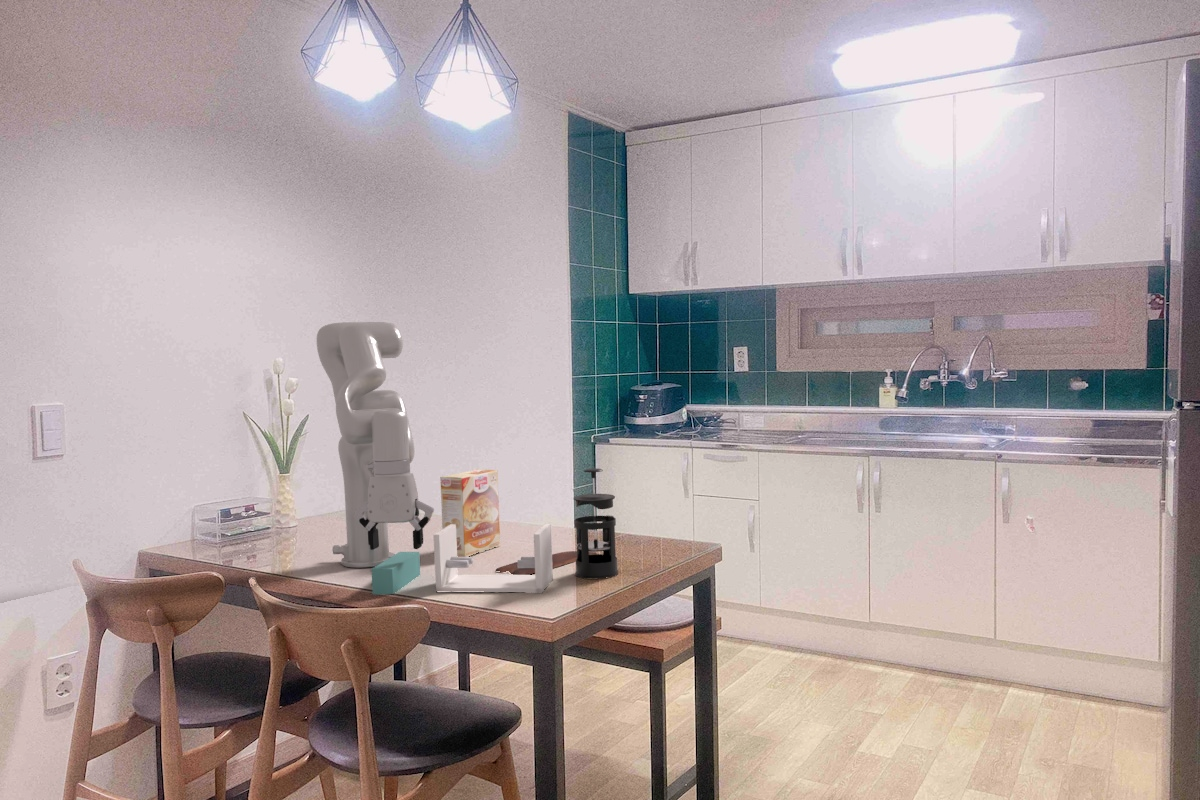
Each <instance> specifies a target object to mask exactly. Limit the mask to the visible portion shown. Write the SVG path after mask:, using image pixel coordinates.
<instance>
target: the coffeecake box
mask: <svg viewBox="0 0 1200 800" xmlns="http://www.w3.org/2000/svg"><path fill="white" fill-rule="evenodd" d="M498 472H499V471H498V470H496V469H478V468H477V469H472V470H469V471H463V472H459V473H454V474H453V473H452V474H449V475H445V476H440V478H439V480H440V501H441V502H440V503H441V527H442V529H444V528H445V527H447V526H449V525H450V524H456V539H457V556H458V557H467V556H470V555H473V554H476V553H478V552H482V551H484V550H487V551H489V550H488V549H490V550H492V549H491V548H493V549H495V548H494V547H496V546H499V545H500V546H501V536H500V535H501V533H500V504H499V502H500V501H499V482H498V481H499V478H498V477H499V475H498ZM442 529H441V530H442ZM500 546H499V547H500ZM496 548H497V547H496ZM484 552H485V551H484ZM482 553H483V552H482ZM476 555H477V554H476ZM473 556H474V555H473ZM470 557H471V556H470Z"/></svg>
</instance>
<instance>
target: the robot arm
mask: <svg viewBox="0 0 1200 800" xmlns="http://www.w3.org/2000/svg"><path fill="white" fill-rule="evenodd" d="M403 345H404V343H403V336H402V334H401V331H400V330H399V328H398V327H397V326H396V325H395V324H394V323H391V322H384V321H369V322H368V321H363V322H362V321H359V322H355V321H354V322H351V321H349V322H345V321H344V322H333V323H328V324H326V325H324V326H321V327H320V328H319V329H318V331H317V334H316V348H317V354H318V359H319V360H320V363H321V366H322V368H323V369H324V372H325V373H326V374H327V377H328V379H329V381H330V382H331V387H332V392H333V396H334V401H335V415H336V419H337V425H338V428H339V431H340V434H341V437H340V439H339V441H338V447H337V448H338V455H339V461H340V466H341V471H342V477H343V489H344V506H345V523H346V524H345V525H346V527H345V528H346V529H345V530H346V543H345V544H343V545H342V544H333V546H332V549H331V550H332V554H333V555H342V556H343V557H342V558H341V565H342V566H344V567H347V568H356V569H357V568H374V567H376V566H377V565H379V564H381V563H382V562H384V561H385V560H387V559H389V558H390V557H392V556H394V555H395V554H396V553H394V552H390V550H389V549H390V547H389V528H388V527H389V525H388V524H393V523H395V524H399V523H400V524H401V523H409V524H411V526H412V527H413V528H414V530H413V531H412V544H413V545H412V546H413V549H414V550H419V549H420V548H421V547H422V545H423V544H424V528H425V526H427V524H428V523H429V522H431V517H432V516H433V514H434V511H435V509H434V507H432V506H431V505H428V504H426V503H424V502H423V501H421V500H419V495H418V488H417V484H416V479H415V476H414V473H411V463H412V462H413V461H414V457H415V443H414V440H413V439H414V437H413V435H412V430H411V425H410V421H409V417H408V414H407V409H406V404H405V401H404V399H403V397H402V396H401V394H400V393H399V392H397V391H395V390H391V389H386V390H385V389H383V390H382V389H381V390H378V389H379V388H380V387H381V386H382V385H383V384H384V382H385V381H386V378H387V371H386V368H385V365H384V361H383V359H396V358H397V357H400V355H401V353H402V350H403ZM420 510H421V511H423V512H424V516H423V517H422V519H421V518H420V517H419V515H420Z"/></svg>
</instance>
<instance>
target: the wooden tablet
mask: <svg viewBox="0 0 1200 800" xmlns="http://www.w3.org/2000/svg"><path fill="white" fill-rule="evenodd" d="M593 554H597V552H596V551H595V552H589V555H593ZM576 559H577V550H574V551H573V550H570V551H563V552H557V553H552V566H553V569H555V567H556V568H559V566H560V567H562V566H561V565H563V566H566V565H569V564H572V563H575V562H574V561H576ZM571 562H572V563H571ZM568 563H569V564H568ZM565 564H566V565H565ZM495 571H500V572H506V571H509V572H510V573H511V574H513V575H530V574H532V575H534V574H533V573H535V568H518V567H517V562H512V563H509V564H506V565H503V566H500V567H498V568H497V567H496V569H495Z"/></svg>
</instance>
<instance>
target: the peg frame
mask: <svg viewBox="0 0 1200 800" xmlns="http://www.w3.org/2000/svg"><path fill="white" fill-rule="evenodd" d="M552 544H553V542H552V524H551V523H545V524H544V525H542V527H540V528H539V529H538V530H536V532H535V533H533V546H534V547H533V549H534V553H533V554H534V556H521V558H520V559H518V560H517V567H518V568H535V574H532V575H509V574H459V569H468V568H469V566H470V565H473V562H474V558H473V556H470V557H457V539H456V524H450V525H449V526H447V527H445V528H444V529H441V530H439V531H437V532H436V533H434V534H433V550H434V552H433V554H434V555H433V556H434V557H433V558H434V575H435V592H436V591H484V592H527V593H526V594H543V593H542V592H544V591H545V590H546V589H547V588H548V586H549V585H550V584H551V583H552V582H553V580H554V572H553V571H554V568H553V566H552V554H553V546H552ZM550 582H551V583H550ZM549 583H550V584H549ZM546 587H547V588H546ZM545 588H546V589H545ZM544 589H545V590H544ZM531 592H532V593H531Z"/></svg>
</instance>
